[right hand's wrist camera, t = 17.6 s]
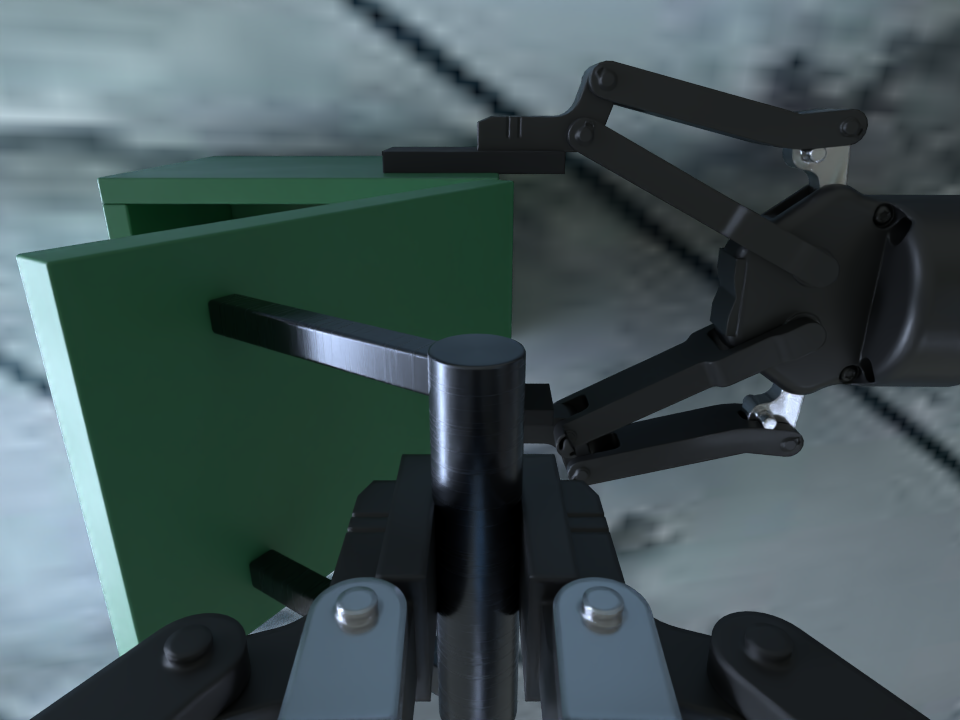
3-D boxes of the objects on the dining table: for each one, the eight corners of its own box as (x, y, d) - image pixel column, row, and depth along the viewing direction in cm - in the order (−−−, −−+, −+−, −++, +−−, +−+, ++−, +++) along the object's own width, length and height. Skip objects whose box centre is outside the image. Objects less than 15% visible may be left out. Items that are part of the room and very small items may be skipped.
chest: (239, 339, 35) (146, 425, 26) (213, 156, 32) (95, 177, 22) (496, 340, 35) (497, 428, 25) (497, 155, 31) (499, 177, 22)
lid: (125, 681, 14) (408, 920, 10) (13, 254, 11) (371, 346, 7) (485, 432, 25) (694, 496, 21) (485, 178, 22) (734, 196, 18)
